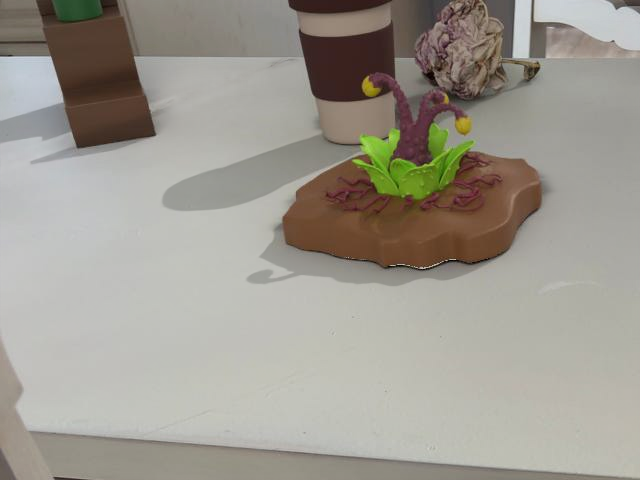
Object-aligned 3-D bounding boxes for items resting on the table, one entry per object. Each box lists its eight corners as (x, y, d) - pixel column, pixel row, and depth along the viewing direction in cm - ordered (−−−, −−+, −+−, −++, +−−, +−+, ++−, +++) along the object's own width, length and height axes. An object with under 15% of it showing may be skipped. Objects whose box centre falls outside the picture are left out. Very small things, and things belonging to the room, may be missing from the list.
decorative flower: (510, 25, 115) (389, 14, 108) (558, -18, 106) (429, -33, 99) (521, 119, 116) (402, 114, 109) (570, 84, 107) (443, 76, 100)
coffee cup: (346, 114, 107) (324, -50, 97) (427, 123, 103) (412, -47, 93) (290, 144, 100) (260, -28, 91) (374, 155, 96) (352, -24, 87)
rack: (156, 135, 105) (124, 12, 98) (77, 148, 103) (38, 24, 96) (143, 102, 115) (113, -12, 107) (70, 114, 113) (35, -2, 105)
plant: (359, 167, 94) (341, 35, 87) (563, 181, 88) (562, 41, 81) (251, 256, 80) (219, 107, 73) (485, 280, 74) (475, 120, 67)
